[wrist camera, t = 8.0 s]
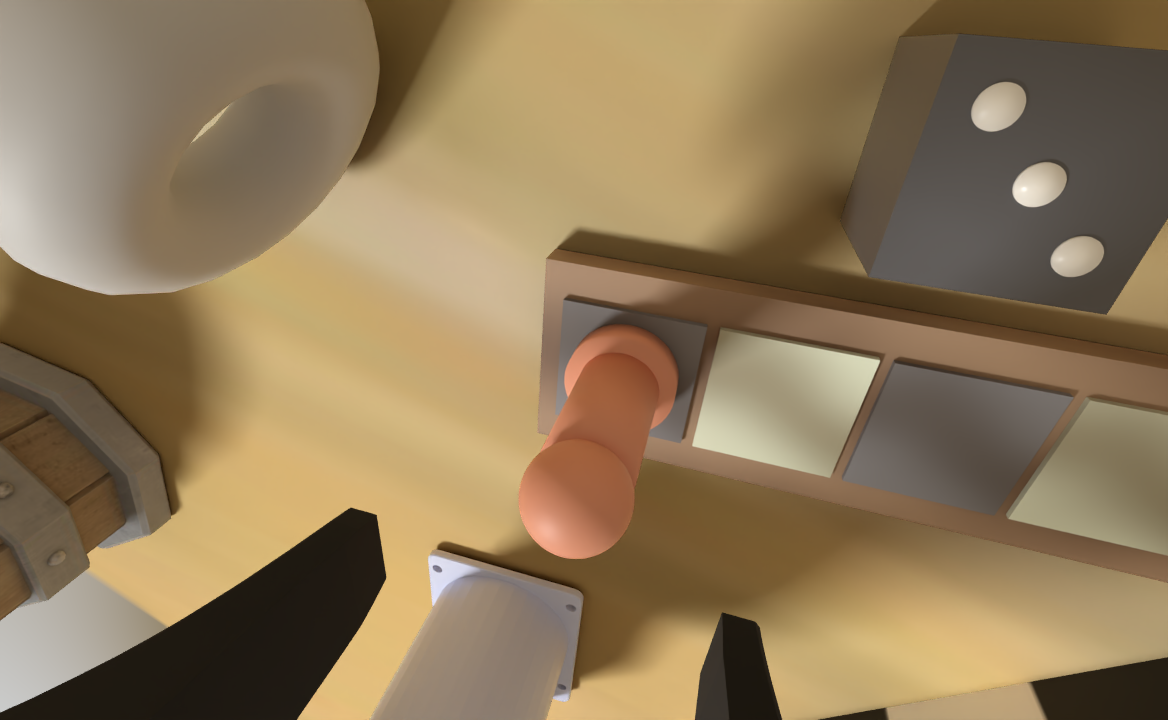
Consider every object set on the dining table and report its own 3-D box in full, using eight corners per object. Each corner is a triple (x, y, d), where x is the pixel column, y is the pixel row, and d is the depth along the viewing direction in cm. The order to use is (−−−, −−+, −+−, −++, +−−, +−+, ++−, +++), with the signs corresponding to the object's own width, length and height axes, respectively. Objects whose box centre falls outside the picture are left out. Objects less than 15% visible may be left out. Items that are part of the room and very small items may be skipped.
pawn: (668, 427, 19) (629, 614, 13) (569, 404, 20) (485, 572, 13) (687, 336, 17) (652, 503, 11) (576, 314, 18) (483, 461, 11)
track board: (1153, 558, 18) (1177, 589, 17) (545, 417, 22) (535, 435, 21) (1319, 381, 14) (1363, 407, 13) (555, 248, 18) (544, 260, 17)
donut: (355, -97, 15) (-172, -286, 6) (457, -2, 15) (94, -59, 7) (249, 186, 20) (-114, 290, 12) (327, 250, 20) (33, 393, 12)
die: (1017, 245, 15) (1112, 316, 11) (839, 220, 16) (869, 278, 12) (1113, 54, 12) (1277, 59, 9) (898, 36, 13) (960, 33, 9)
